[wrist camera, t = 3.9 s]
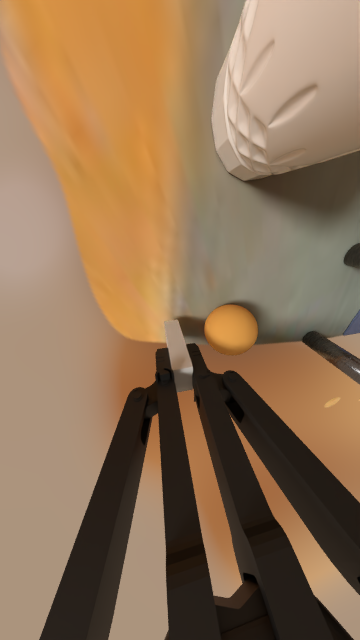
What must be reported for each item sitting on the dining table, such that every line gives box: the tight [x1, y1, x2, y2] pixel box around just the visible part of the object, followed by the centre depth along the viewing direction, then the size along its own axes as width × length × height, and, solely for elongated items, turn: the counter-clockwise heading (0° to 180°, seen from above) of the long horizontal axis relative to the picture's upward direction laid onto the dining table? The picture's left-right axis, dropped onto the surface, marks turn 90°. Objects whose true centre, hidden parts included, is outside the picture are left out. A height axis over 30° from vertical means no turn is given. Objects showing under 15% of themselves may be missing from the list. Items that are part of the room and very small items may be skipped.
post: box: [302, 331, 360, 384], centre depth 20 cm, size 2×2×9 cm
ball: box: [204, 304, 258, 355], centre depth 16 cm, size 6×6×6 cm
